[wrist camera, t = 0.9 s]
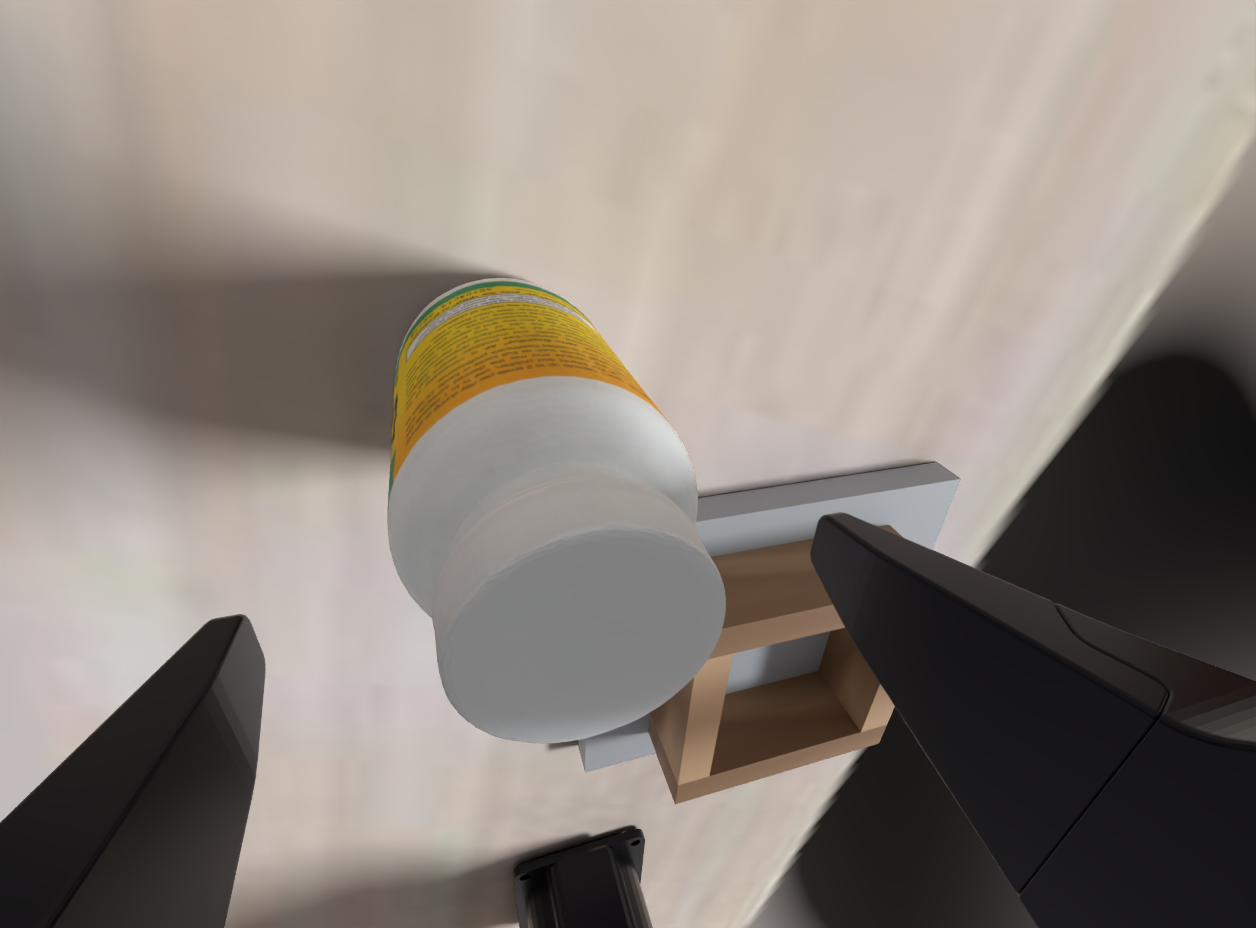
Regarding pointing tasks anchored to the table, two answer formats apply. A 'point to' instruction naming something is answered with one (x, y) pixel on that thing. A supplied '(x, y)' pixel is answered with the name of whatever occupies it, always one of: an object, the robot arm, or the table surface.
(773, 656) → the board
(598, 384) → the supplement bottle
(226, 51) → the table surface
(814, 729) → the collar
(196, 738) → the robot arm
